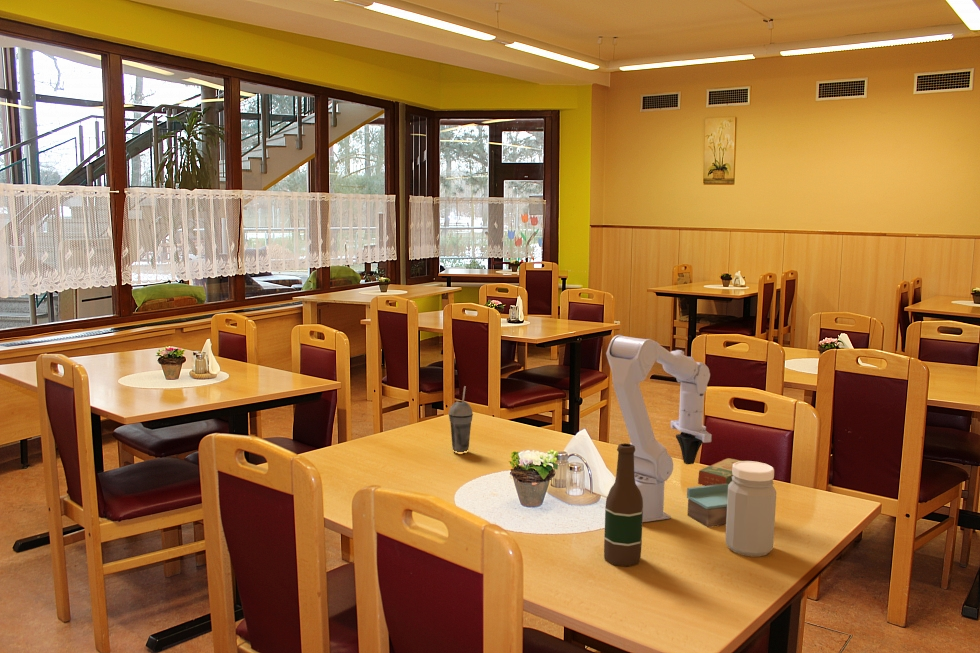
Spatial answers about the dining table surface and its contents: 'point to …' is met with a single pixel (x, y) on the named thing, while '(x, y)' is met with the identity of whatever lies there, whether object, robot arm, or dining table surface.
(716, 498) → the lid
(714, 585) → the dining table surface
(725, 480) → the carton
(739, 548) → the jar
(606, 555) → the beer bottle
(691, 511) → the box
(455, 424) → the beverage cup
